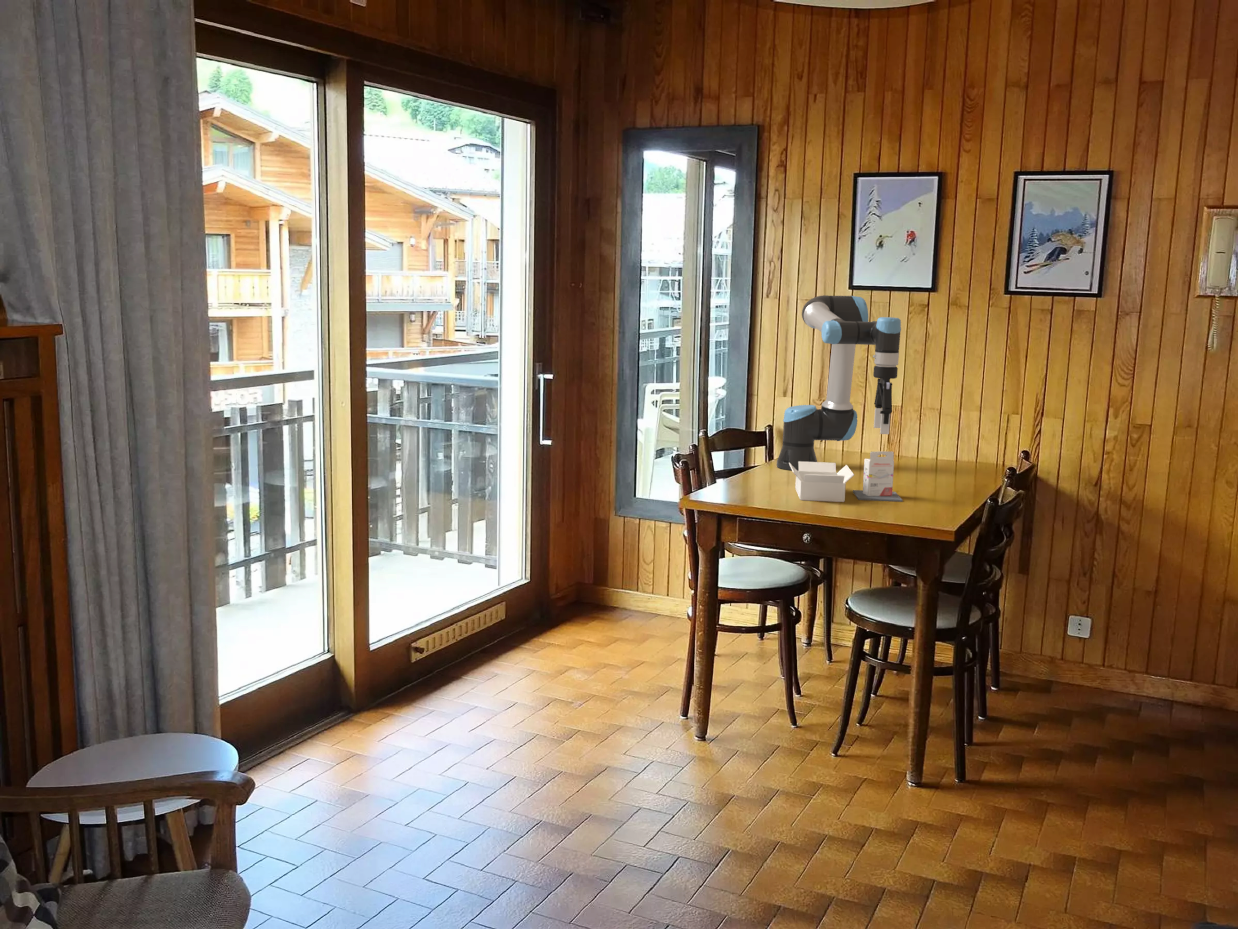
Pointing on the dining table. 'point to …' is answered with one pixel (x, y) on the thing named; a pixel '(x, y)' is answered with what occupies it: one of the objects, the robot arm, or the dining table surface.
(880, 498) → the mat
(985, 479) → the dining table surface
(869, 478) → the ink cartridge box
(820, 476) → the carton
